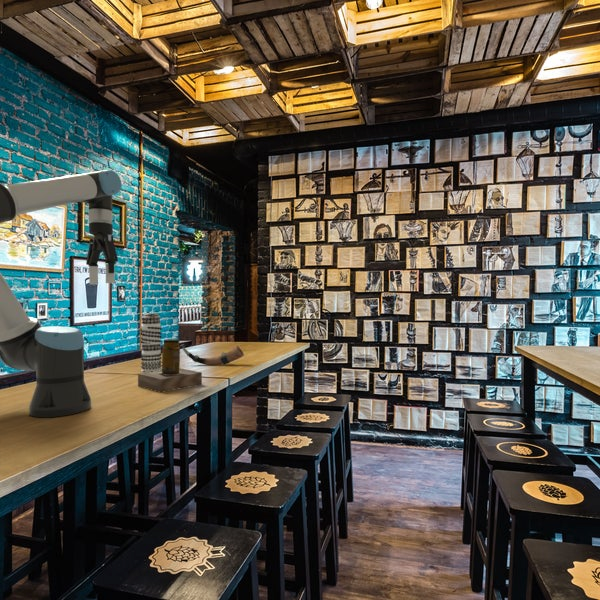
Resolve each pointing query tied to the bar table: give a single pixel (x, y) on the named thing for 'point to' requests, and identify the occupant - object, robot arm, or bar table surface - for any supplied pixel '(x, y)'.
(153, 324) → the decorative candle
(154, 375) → the block
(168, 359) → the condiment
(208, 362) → the drinking horn
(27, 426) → the bar table surface
